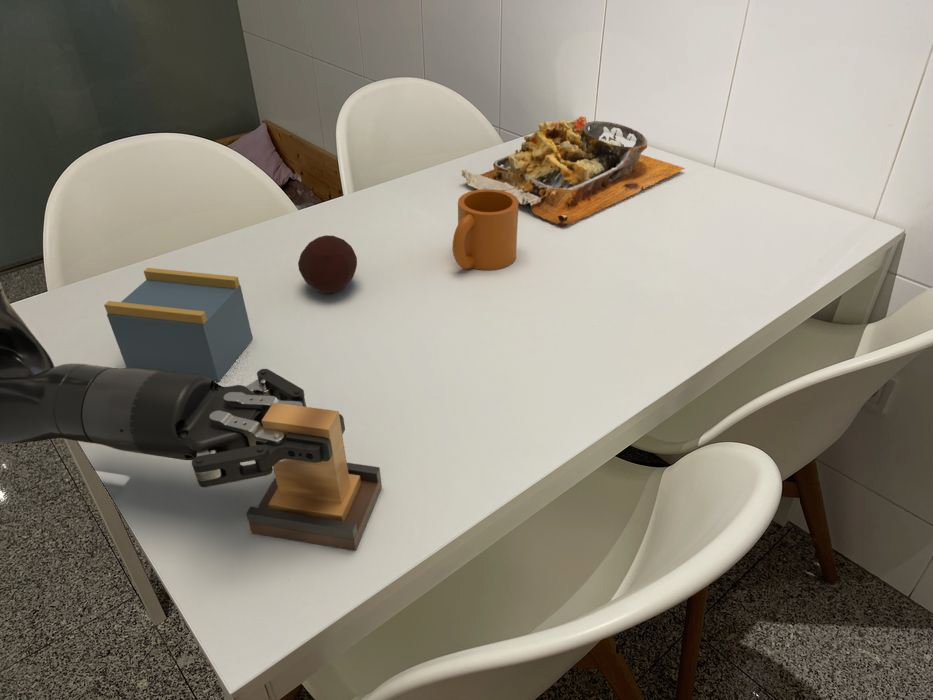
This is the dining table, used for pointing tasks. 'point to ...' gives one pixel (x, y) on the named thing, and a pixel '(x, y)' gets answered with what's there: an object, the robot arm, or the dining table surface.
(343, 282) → the dark maroon ball
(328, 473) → the wooden pedestal block
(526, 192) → the food tray
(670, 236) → the dining table surface
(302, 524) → the brown u-shaped block
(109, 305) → the blue railed block
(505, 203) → the mug
